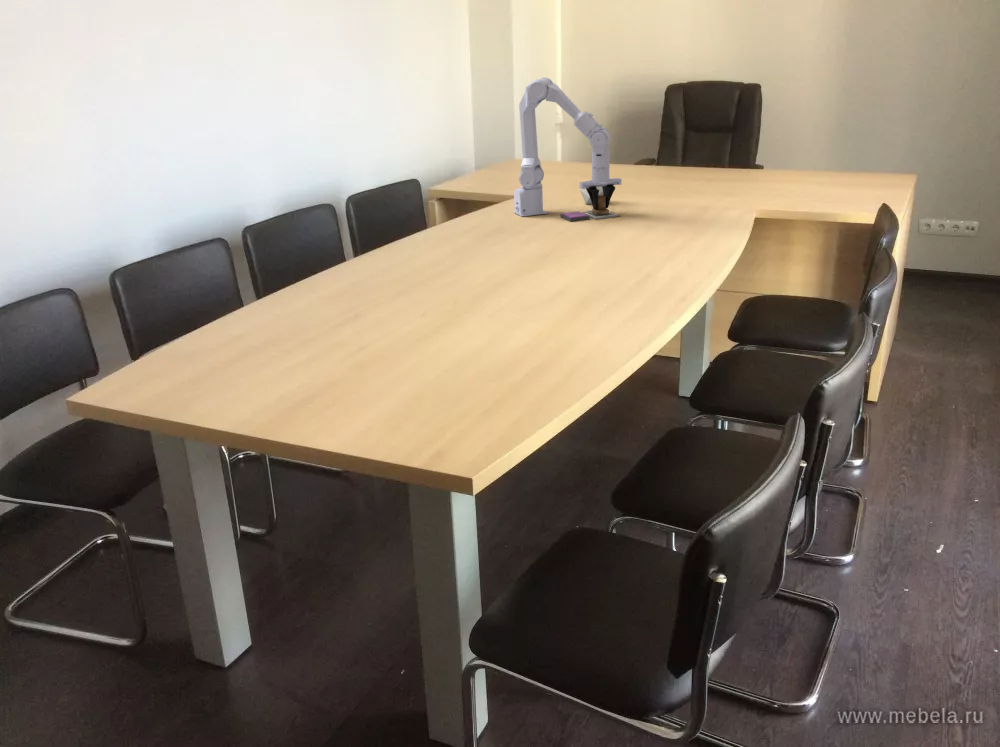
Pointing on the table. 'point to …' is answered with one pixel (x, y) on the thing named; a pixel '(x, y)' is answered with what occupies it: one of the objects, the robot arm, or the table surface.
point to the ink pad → (574, 216)
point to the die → (586, 195)
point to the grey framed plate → (589, 213)
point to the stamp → (601, 206)
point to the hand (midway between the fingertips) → (600, 208)
